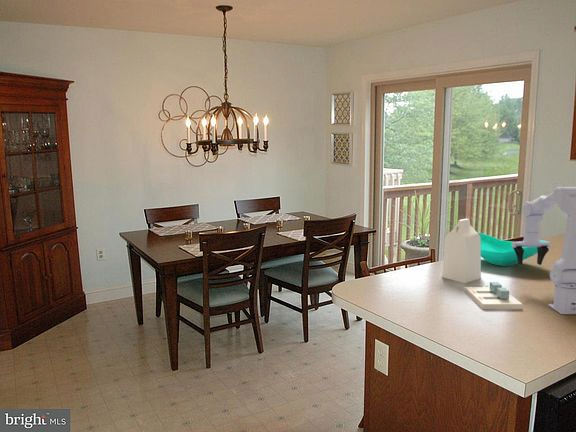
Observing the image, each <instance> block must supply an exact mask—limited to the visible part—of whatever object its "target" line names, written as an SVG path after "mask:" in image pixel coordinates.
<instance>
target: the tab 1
mask: <svg viewBox="0 0 576 432" xmlns="http://www.w3.org/2000/svg"><path fill="white" fill-rule="evenodd" d="M489 287H490V288H489V290H491V291H492V292H493V293H497V288H503V285H502V284H501V283H499V282H498V281H490V282H489Z"/></svg>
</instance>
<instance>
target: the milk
mask: <svg viewBox="0 0 576 432" xmlns="http://www.w3.org/2000/svg"><path fill="white" fill-rule="evenodd" d="M478 233H479V232H478ZM478 233H477V230H476V229H475V228H474V227H473V226H472V225H471V221H470V219H469V218H463V219H459V220H457V224H456V226H455V227H453V228H452V230H451V231H449V232H448V233H447V234H446V236H445V239H444V247H443V249H444V250H443V260H442V261H443V262H442V269H441V271H442V272H441V278H444V279H448V280H451V281H455V282H459V283H462V284H466V283H469V282H474V281H477V280H479V279H480V280H481V279H482V273H481V272H482V269H481V268H482V261H481V259H482V257H481V239H480V236H479V234H478Z"/></svg>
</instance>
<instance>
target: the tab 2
mask: <svg viewBox="0 0 576 432" xmlns="http://www.w3.org/2000/svg"><path fill="white" fill-rule="evenodd" d="M509 294H510V290H509V289H508V288H506V287H502V288H497V296H498V297H499V298H500V299H509Z"/></svg>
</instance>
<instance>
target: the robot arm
mask: <svg viewBox="0 0 576 432" xmlns="http://www.w3.org/2000/svg"><path fill="white" fill-rule="evenodd" d="M554 204H556V205H557V206H558V207H559V209H560V210H561V211H562V213H566V214H567V219H566V226H565V233H564V238H563V242H562V243H563V245H562V251H561V255H560V258H558V259H556V260H555V261H554V262H553V263H552V264H553V265H552V268H551V269H550V271H549V278H550V281H551V282H552V284H554V293H553V303H548V306H549V308H551V309H553V310H555V311H556V312H557V313H559V314H561V315H576V186H557V187H555V188H553V191H552V192H551V193H550V194H548V195H546V194H540V195H539V197H537V198H534V199H533V200H532V201H525V202H523V205H522V208H521V209H522V214H523V215H524V216H523V217H524V226H523V239H522V240H521V241H520V240H519V241H512V247H513V249H514V250H515V253H516V255H517V259H518V265H519V266H522V265H523V261H524V260H523V253H524V249H523V248H522V247H537V257H536V259H537V260H536V263H537V265H538V266H541V265H542V264H543V261H544V260H545V259H544V258H545V256H546V255H547V254H548V252H549V251H550V250H549V248H551V245H552V244H551V242H550V241H547V242H543V241H539V240H540V236H541V222H542V221H543V216H544V214H545V212H547V211H549V210H551V209H552V207H554Z"/></svg>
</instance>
